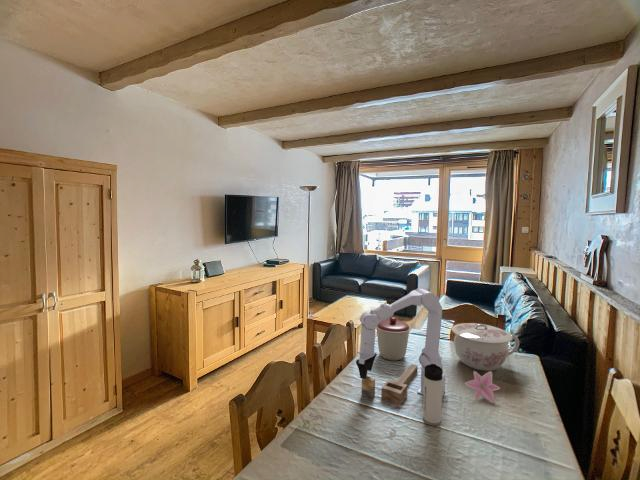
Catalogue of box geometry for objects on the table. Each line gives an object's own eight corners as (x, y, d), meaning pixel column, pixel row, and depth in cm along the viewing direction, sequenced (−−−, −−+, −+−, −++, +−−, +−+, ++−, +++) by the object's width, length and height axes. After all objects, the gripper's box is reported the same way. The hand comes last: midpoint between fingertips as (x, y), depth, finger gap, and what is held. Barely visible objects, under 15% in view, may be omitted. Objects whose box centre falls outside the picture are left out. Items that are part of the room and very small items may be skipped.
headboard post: (422, 373, 154) (422, 364, 153) (400, 404, 129) (400, 393, 129) (406, 369, 158) (406, 360, 158) (381, 398, 133) (381, 387, 133)
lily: (460, 394, 138) (464, 381, 133) (472, 376, 145) (476, 362, 140) (489, 413, 131) (494, 400, 126) (500, 393, 138) (506, 380, 132)
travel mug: (440, 416, 121) (442, 364, 120) (441, 427, 115) (443, 373, 113) (423, 413, 123) (424, 362, 122) (422, 423, 117) (424, 370, 116)
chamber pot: (440, 363, 165) (441, 323, 163) (464, 348, 183) (465, 312, 182) (500, 385, 144) (502, 339, 142) (520, 365, 163) (522, 325, 161)
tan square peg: (374, 397, 134) (375, 378, 133) (372, 399, 132) (373, 380, 132) (363, 393, 137) (363, 375, 136) (361, 395, 135) (361, 377, 134)
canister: (413, 364, 163) (415, 323, 162) (377, 364, 164) (378, 323, 162) (405, 349, 181) (406, 312, 180) (372, 349, 182) (373, 312, 180)
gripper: (363, 334, 141) (362, 364, 142) (352, 345, 128) (350, 379, 129) (379, 337, 138) (377, 368, 139) (369, 349, 125) (367, 383, 126)
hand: (365, 374), depth 134 cm, fingers open, 7 cm apart
